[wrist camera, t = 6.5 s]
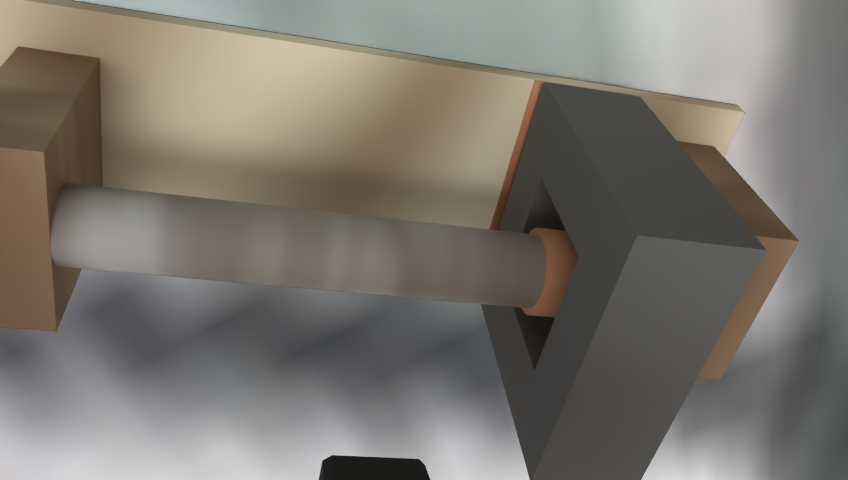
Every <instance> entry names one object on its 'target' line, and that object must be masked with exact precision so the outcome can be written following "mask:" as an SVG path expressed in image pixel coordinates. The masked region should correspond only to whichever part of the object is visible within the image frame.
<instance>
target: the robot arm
mask: <svg viewBox="0 0 848 480" xmlns="http://www.w3.org/2000/svg"><path fill="white" fill-rule="evenodd" d="M319 480H430V478H429V475H428V473H427V470H426V467H425V465H424V464H423V463H422V462H421V461H420V460H419V459H403V458H380V457H357V456H334V455H332V456H330V457H328V458H327V459H325V460H323V462H322V467H321V472H320V477H319Z"/></svg>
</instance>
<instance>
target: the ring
mask: <svg viewBox="0 0 848 480" xmlns="http://www.w3.org/2000/svg"><path fill="white" fill-rule="evenodd" d="M534 228H544V229H553V230H562V231H567V233H568V235H569V237H570V239H571V242H572V244H573V246H574V248H575V250H576V252H577V254H578V256H579V258H578V260H577V263H576V265H575V268H574V270H573V273H572V276H571V278H570V281H569V283H568V286H567V289H566V291H565V294H564V296H563V299H562V301H561V304H560V307H559V309H558V312H557V314H556V317H543V316H532V315H527V314H525V313H524V311H523V310H522V308H521V307H509V306H498V305H487V304H481V305H482V309H483V313H484V316H485V320H486V323H487V327H488V331H489V334H490V338H491V341H492V345H493V348H494V352H495V356H496V359H497V363H498V366H499V370H500V374H501V377H502V381H503V384H504V388H505V391H506V395H507V399H508V402H509V406H510V409H511V413H512V417H513V420H514V424H515V427H516V431H517V435H518V438H519V442H520V445H521V449H522V452H523V456H524V460H525V463H526V467H527V470H528V474H529V478H530V480H641V479H642V477H643V475H644V473H645V471H646V469H647V468H648V466H649V464H650V462H651V460H652V459H653V457H654V455H655V453H656V451H657V449H658V448H659V446H660V444H661V442H662V440H663V438H664V437H665V435H666V433H667V431H668V429H669V428H670V426H671V424H672V422H673V420H674V418H675V417H676V415H677V413H678V411H679V409H680V408H681V406H682V404H683V402H684V400H685V398H686V397H687V395H688V393H689V391H690V389H691V387H692V386H693V384H694V382H695V380H696V378H697V377H698V375H699V373H700V371H701V369H702V367H703V366H704V364H705V362H706V360H707V358H708V357H709V355H710V353H711V351H712V349H713V347H714V346H715V344H716V342H717V340H718V338H719V336H720V335H721V333H722V331H723V329H724V327H725V326H726V324H727V322H728V320H729V318H730V316H731V315H732V313H733V311H734V309H735V307H736V305H737V304H738V302H739V300H740V298H741V296H742V295H743V293H744V291H745V289H746V287H747V285H748V284H749V282H750V280H751V278H752V276H753V275H754V273H755V271H756V269H757V267H758V265H759V264H760V262H761V260H762V258H763V256H764V254H765V253H766V251H767V250H766V249H765V247H764V246H763V245H762V244H761V242H760V241H759V240H758V239H757V238H756V236H755V235H754V234H753V233H752V232H751V230H750V229H749V228H748V227H747V225H746V224H745V223H744V222H743V221H742V219H741V218H740V217H739V216H738V215H737V213H736V212H735V211H734V210H733V209H732V207H731V206H730V205H729V204H728V202H727V201H726V200H725V199H724V198H723V196H722V195H721V194H720V193H719V192H718V190H717V189H716V188H715V187H714V185H713V184H712V183H711V182H710V181H709V179H708V178H707V177H706V176H705V175H704V173H703V172H702V171H701V170H700V168H699V167H698V166H697V165H696V164H695V162H694V161H693V160H692V159H691V158H690V156H689V155H688V154H687V153H686V152H685V150H684V149H683V148H682V147H681V145H680V144H679V143H678V142H677V141H676V139H675V138H674V137H673V136H672V135H671V133H670V132H669V131H668V130H667V128H666V127H665V126H664V125H663V124H662V122H661V121H660V120H659V119H658V118H657V116H656V115H655V114H654V113H653V111H652V110H651V109H650V108H649V107H648V105H647V104H646V103H645V102H644V101H643V99H642V98H641V97H639V96H632V95H626V94H620V93H613V92H607V91H600V90H594V89H587V88H581V87H574V86H568V85H562V84H555V83H549V82H544V84H543V87H542V90H541V93H540V97H539V100H538V103H537V106H536V110H535V113H534V116H533V119H532V122H531V126H530V129H529V132H528V135H527V138H526V142H525V145H524V148H523V151H522V155H521V158H520V161H519V164H518V167H517V171H516V174H515V177H514V180H513V183H512V187H511V190H510V193H509V196H508V200H507V203H506V206H505V209H504V212H503V216H502V219H501V222H500V225H499V229H498V230H499V231H508V232H517V233H526V234H529V232H530V231H531V230H532V229H534Z"/></svg>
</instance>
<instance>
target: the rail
mask: <svg viewBox="0 0 848 480" xmlns="http://www.w3.org/2000/svg"><path fill="white" fill-rule="evenodd" d="M544 82H549V83H555V84H562V85H568V86H574V87H581V88H587V89H594V90H600V91H607V92H613V93H620V94H626V95H632V96H639V97H641V98H642V99H643V101H644V102H645V103H646V104H647V105H648V107H649V108H650V109H651V110H652V111H653V113H654V114H655V115H656V116H657V118H658V119H659V120H660V121H661V122H662V124H663V125H664V126H665V127H666V128H667V130H668V131H669V132H670V133H671V135H672V136H673V137H674V138H675V139H676V141H677V142H678V143H679V144H680V145H681V147H682V148H683V149H684V150H685V152H686V153H687V154H688V155H689V156H690V158H691V159H692V160H693V161H694V162H695V164H696V165H697V166H698V167H699V168H700V170H701V171H702V172H703V173H704V175H705V176H706V177H707V178H708V179H709V181H710V182H711V183H712V184H713V185H714V187H715V188H716V189H717V190H718V192H719V193H720V194H721V195H722V196H723V198H724V199H725V200H726V201H727V202H728V204H729V205H730V206H731V207H732V209H733V210H734V211H735V212H736V213H737V215H738V216H739V217H740V218H741V219H742V221H743V222H744V223H745V224H746V225H747V227H748V228H749V229H750V230H751V232H752V233H753V234H754V235H755V236H756V238H757V239H758V240H759V241H760V242H761V244H762V245H763V246H764V247H765V249H766V250H767V251H766V253H765V254H764V256H763V258H762V260H761V262H760V264H759V265H758V267H757V269H756V271H755V273H754V275H753V276H752V278H751V280H750V282H749V284H748V285H747V287H746V289H745V291H744V293H743V295H742V296H741V298H740V300H739V302H738V304H737V305H736V307H735V309H734V311H733V313H732V315H731V316H730V318H729V320H728V322H727V324H726V326H725V327H724V329H723V331H722V333H721V335H720V336H719V338H718V340H717V342H716V344H715V346H714V347H713V349H712V351H711V353H710V355H709V357H708V358H707V360H706V362H705V364H704V366H703V367H702V369H701V371H700V373H699V375H698V377H697V378H708V379H721V377H722V375H723V373H724V372H725V370H726V368H727V366H728V365H729V363H730V361H731V359H732V358H733V356H734V354H735V352H736V351H737V349H738V347H739V345H740V344H741V342H742V340H743V338H744V337H745V335H746V333H747V331H748V330H749V328H750V326H751V324H752V323H753V321H754V319H755V317H756V316H757V314H758V312H759V310H760V309H761V307H762V305H763V303H764V302H765V300H766V298H767V296H768V295H769V293H770V291H771V290H772V288H773V286H774V284H775V283H776V281H777V279H778V277H779V276H780V274H781V272H782V270H783V269H784V267H785V265H786V263H787V262H788V260H789V258H790V256H791V255H792V253H793V251H794V249H795V248H796V246H797V244H798V242H799V240H798V239H797V238H796V237H795V236H794V235H793V234H792V233H791V232H790V230H789V229H788V228H787V227H786V226H785V225H784V224H783V223H782V222H781V220H780V219H779V218H778V217H777V216H776V215H775V214H774V213H773V211H772V210H771V209H770V208H769V207H768V206H767V205H766V204H765V203H764V201H763V200H762V199H761V198H760V197H759V196H758V195H757V194H756V193H755V191H754V190H753V189H752V188H751V187H750V186H749V185H748V184H747V183H746V181H745V180H744V179H743V178H742V177H741V176H740V175H739V174H738V173H737V171H736V170H735V169H734V168H733V167H732V166H731V165H730V164H729V162H728V161H727V160H726V159H725V158H724V156H725V153H726V151H727V149H728V147H729V145H730V143H731V141H732V139H733V137H734V134H735V132H736V130H737V128H738V126H739V124H740V122H741V120H742V118H743V115H744V113H745V112H744V111H743V110H742V109H741V108H740V107H739V106H737V105H731V104H725V103H718V102H712V101H706V100H699V99H693V98H687V97H680V96H674V95H668V94H661V93H655V92H648V91H642V90H636V89H629V88H623V87H617V86H610V85H604V84H598V83H591V82H585V81H579V80H572V79H566V78H559V77H553V76H547V75H540V74H534V73H528V72H521V71H515V70H509V69H502V68H496V67H490V66H483V65H477V64H470V63H464V62H458V61H451V60H445V59H439V58H432V57H426V56H420V55H413V54H407V53H401V52H394V51H388V50H381V49H375V48H369V47H362V46H356V45H350V44H343V43H337V42H331V41H324V40H318V39H312V38H305V37H299V36H292V35H286V34H280V33H273V32H267V31H261V30H254V29H248V28H242V27H235V26H229V25H223V24H216V23H210V22H203V21H197V20H191V19H184V18H178V17H172V16H165V15H159V14H153V13H146V12H140V11H134V10H127V9H121V8H114V7H108V6H102V5H95V4H89V3H83V2H76V1H70V0H0V327H3V328H16V329H30V330H44V331H57V329H58V326H59V324H60V321H61V319H62V316H63V314H64V311H65V309H66V306H67V304H68V302H69V299H70V297H71V294H72V292H73V289H74V287H75V284H76V282H77V279H78V277H79V274H80V272H81V269H93V270H104V271H116V272H127V273H138V274H149V275H161V276H172V277H183V278H194V279H206V280H217V281H228V282H239V283H251V284H262V285H273V286H284V287H296V288H307V289H318V290H329V291H341V292H352V293H363V294H374V295H386V296H397V297H408V298H419V299H431V300H442V301H453V302H464V303H476V304H487V305H498V306H509V307H521V308H522V310H523V311H524V313H525V314H527V315H532V316H543V317H556V314H557V312H558V309H559V307H560V304H561V301H562V299H563V296H564V294H565V291H566V289H567V286H568V283H569V281H570V278H571V276H572V273H573V270H574V268H575V265H576V263H577V260H578V258H579V256H578V254H577V252H576V250H575V248H574V246H573V244H572V242H571V239H570V237H569V235H568V233H567V231H562V230H553V229H544V228H534V229H532V230H531V231H530V232H529V234H526V233H517V232H508V231H499V230H498V229H499V225H500V222H501V219H502V216H503V212H504V209H505V206H506V203H507V200H508V196H509V193H510V190H511V187H512V183H513V180H514V177H515V174H516V171H517V167H518V164H519V161H520V158H521V155H522V151H523V148H524V145H525V142H526V138H527V135H528V132H529V129H530V126H531V122H532V119H533V116H534V113H535V110H536V106H537V103H538V100H539V97H540V93H541V90H542V87H543V84H544Z"/></svg>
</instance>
